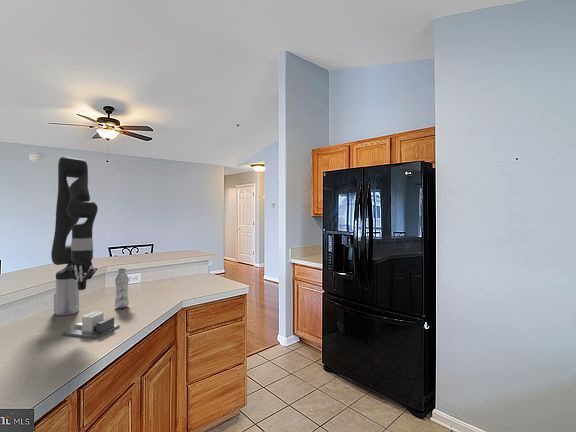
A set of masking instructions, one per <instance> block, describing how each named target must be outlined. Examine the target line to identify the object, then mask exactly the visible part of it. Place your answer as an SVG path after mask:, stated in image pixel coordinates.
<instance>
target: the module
mask: <svg viewBox="0 0 576 432" xmlns="http://www.w3.org/2000/svg"><path fill="white" fill-rule="evenodd" d="M104 318H105V315H104V312H101V311H92V312H90V313H87V314H85V315H83V316H82V318H81V320H82V322H81V323H82V331H86V332H93V331H94V326H96V325H97V323H98V322H100V321H103V320H105V319H104Z"/></svg>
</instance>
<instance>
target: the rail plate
mask: <svg viewBox="0 0 576 432" xmlns="http://www.w3.org/2000/svg"><path fill="white" fill-rule="evenodd" d="M73 325H74V326H73V327H72V328H69V329H68V330H65V331H63V332H62V334H61V336H68V337H77V338H87V339H99V338H101V337H103V336H106V335H107V334H109V333H111V332H113V331H114V330H116V329H118V328H120V324H117V323H115V317H113V316H109V317H108V318H106V319H104V320H103V321H100V322H98V323H97V325H96V326H94V331H93V332H86V331H82V322H77V323H75V324H73Z"/></svg>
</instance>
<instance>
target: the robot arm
mask: <svg viewBox="0 0 576 432" xmlns="http://www.w3.org/2000/svg"><path fill="white" fill-rule="evenodd" d="M88 168H89V167H88V163H87V161H86V160H85V159H82V158H74V157H67V156H61V157H60V158H59V159H58V165H57V169H58V171H57V179H58V180H57V182H58V183H57V185H58V186H57V198H56V199H57V200H56V209H55V225H54V226H55V228H54V236H53V241H52V246H51V258H50V259H51V261H52V263H53V264H54V265H55V266H56V265H57V266H59V265H60V266H61V265H66V266H65V267H63V269H60V270H59V271H57V272H56V273H55V293H54V294H53V314H55V316H68V315H69V316H70V315H73V314H76V313H78V312H79V311H80V291H85V290H86V288H87V280H91V279H92V277H94V275H95V274H96V272H97V271H98V268H97V267H94V266H93V262H92V260H93V258H94V240H93V227H94V222H95V219H96V216H97V214H98V208H99V207H98V205H97V203H96V202H94V201H90V200H91V196H90V191H89V187H88V186H89V185H88V184H89V170H88ZM67 178H74V179H75V180H74V181H73V182H72V183H71V184H70V186H69V183H68V179H67ZM80 219H86V220H85V221H84V222H80V223H78V222H79V220H80ZM70 232H71V242H70V244H66V243H67V239H68V236H69V235H70Z"/></svg>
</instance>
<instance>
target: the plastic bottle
mask: <svg viewBox="0 0 576 432" xmlns="http://www.w3.org/2000/svg"><path fill="white" fill-rule="evenodd" d="M129 282H130V278H129V276H128V274H127V268H118V269H117V276H116V277H115V279H114V283H115V300H114V307H115V309H124V308H127V307H128V306H129V304H130V301H129V295H128V293H129V292H128V291H129Z"/></svg>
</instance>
